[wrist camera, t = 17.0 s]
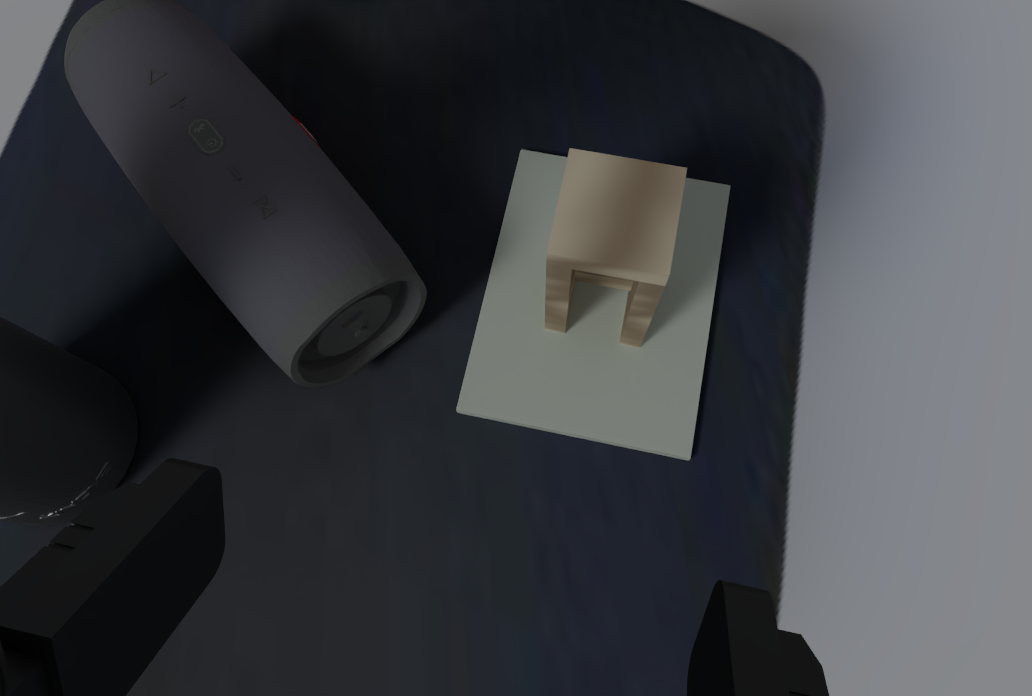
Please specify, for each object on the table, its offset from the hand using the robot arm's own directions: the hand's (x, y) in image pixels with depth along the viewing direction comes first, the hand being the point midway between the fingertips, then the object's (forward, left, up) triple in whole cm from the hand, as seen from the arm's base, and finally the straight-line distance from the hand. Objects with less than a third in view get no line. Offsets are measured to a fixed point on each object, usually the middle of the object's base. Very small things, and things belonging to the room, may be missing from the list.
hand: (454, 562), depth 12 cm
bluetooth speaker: (-25, +4, -29) cm, 39 cm away
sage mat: (-8, +15, -29) cm, 33 cm away
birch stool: (-8, +15, -28) cm, 33 cm away
